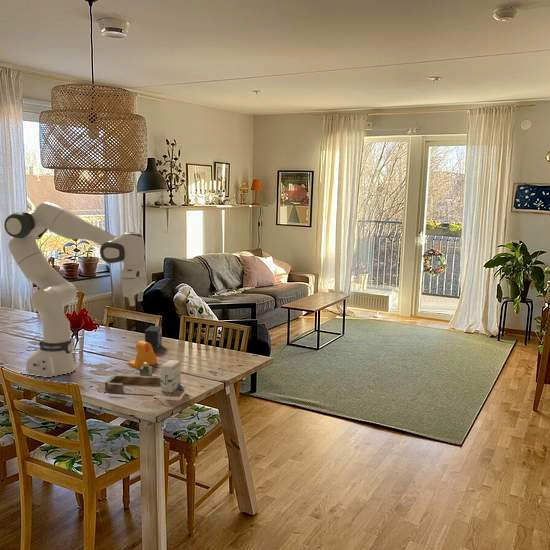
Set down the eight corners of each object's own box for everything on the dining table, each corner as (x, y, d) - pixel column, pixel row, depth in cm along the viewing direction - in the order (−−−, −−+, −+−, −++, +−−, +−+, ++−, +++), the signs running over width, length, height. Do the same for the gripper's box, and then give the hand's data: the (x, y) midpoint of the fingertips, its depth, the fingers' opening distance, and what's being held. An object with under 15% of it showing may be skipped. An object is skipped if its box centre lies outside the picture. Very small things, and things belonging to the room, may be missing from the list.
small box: (157, 351, 274) (157, 330, 272) (144, 350, 274) (144, 330, 272) (162, 345, 284) (162, 325, 283) (150, 345, 284) (149, 325, 283)
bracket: (147, 362, 257) (146, 337, 255) (156, 365, 252) (156, 340, 250) (127, 367, 248) (127, 341, 246) (137, 371, 244) (136, 345, 242)
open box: (103, 393, 217) (103, 383, 216) (114, 383, 227) (114, 374, 227) (153, 396, 215) (152, 386, 214) (161, 386, 226) (161, 377, 225)
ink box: (170, 386, 226) (169, 359, 224) (181, 388, 224) (180, 360, 222) (160, 393, 217) (159, 365, 216) (171, 395, 216) (171, 366, 214)
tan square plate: (135, 381, 231) (135, 378, 230) (140, 375, 238) (140, 373, 237) (151, 382, 230) (151, 379, 230) (156, 376, 237) (156, 374, 237)
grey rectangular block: (139, 377, 232) (139, 364, 231) (142, 374, 236) (142, 361, 235) (149, 378, 231) (148, 364, 231) (152, 375, 235) (151, 361, 234)
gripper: (135, 267, 239) (137, 298, 241) (118, 274, 219) (120, 308, 221) (150, 267, 239) (151, 298, 241) (133, 274, 219) (135, 308, 221)
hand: (136, 303), depth 231 cm, fingers open, 8 cm apart
